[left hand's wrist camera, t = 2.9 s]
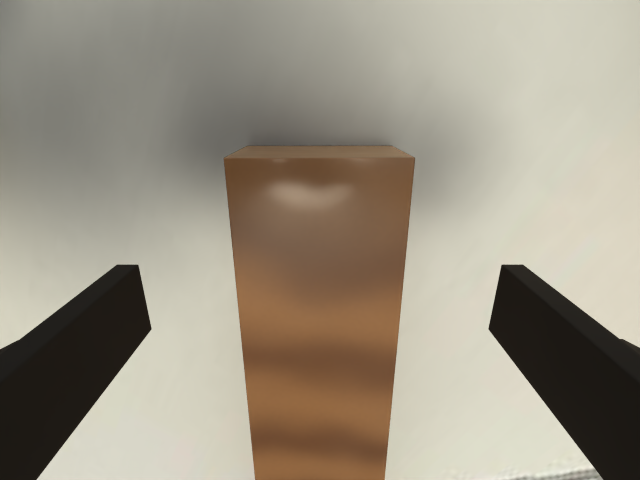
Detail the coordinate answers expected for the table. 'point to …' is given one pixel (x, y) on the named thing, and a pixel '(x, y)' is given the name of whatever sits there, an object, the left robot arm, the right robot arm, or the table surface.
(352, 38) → the table surface
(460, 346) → the table surface
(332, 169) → the slab
